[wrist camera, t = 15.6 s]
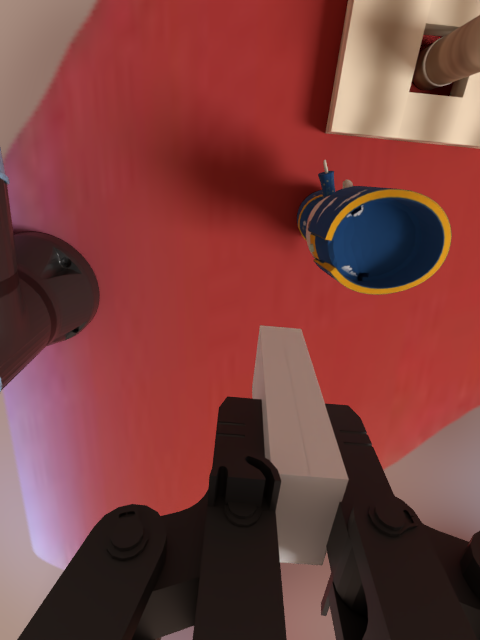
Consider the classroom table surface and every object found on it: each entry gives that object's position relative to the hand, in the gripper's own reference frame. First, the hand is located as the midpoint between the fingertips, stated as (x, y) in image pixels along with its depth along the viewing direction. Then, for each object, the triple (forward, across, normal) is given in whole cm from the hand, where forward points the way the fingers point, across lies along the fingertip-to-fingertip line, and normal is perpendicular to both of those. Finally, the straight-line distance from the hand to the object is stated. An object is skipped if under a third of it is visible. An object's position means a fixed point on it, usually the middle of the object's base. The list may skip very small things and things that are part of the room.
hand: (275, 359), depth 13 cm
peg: (+34, +17, +17) cm, 42 cm away
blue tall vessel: (+35, +9, +1) cm, 36 cm away
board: (+34, +17, +17) cm, 42 cm away
